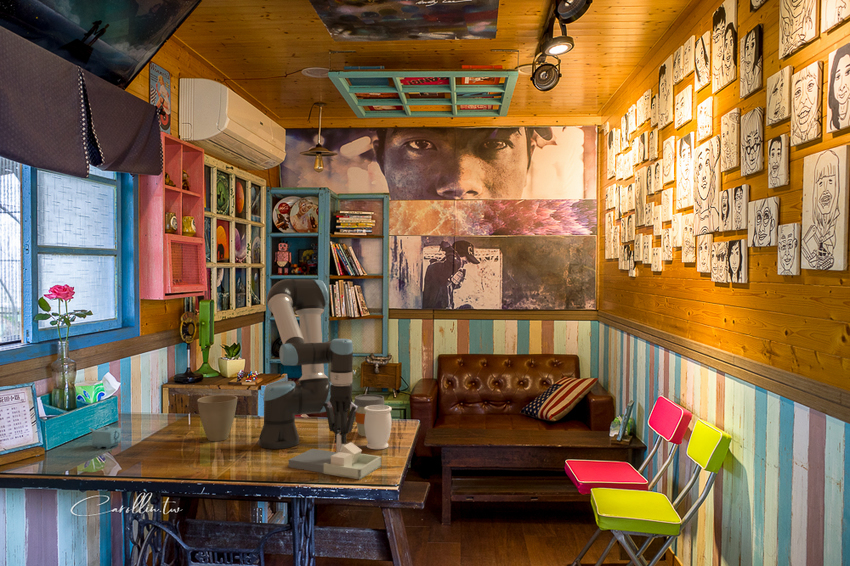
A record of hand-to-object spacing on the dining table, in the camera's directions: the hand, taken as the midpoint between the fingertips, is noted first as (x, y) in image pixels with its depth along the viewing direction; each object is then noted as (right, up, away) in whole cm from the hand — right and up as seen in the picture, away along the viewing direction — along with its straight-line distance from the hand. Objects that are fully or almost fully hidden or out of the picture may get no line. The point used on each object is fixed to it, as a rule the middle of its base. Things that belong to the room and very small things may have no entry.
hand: (340, 452), depth 195 cm
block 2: (+2, -2, -1) cm, 3 cm away
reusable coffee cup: (+6, -4, +40) cm, 41 cm away
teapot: (-91, -3, +17) cm, 93 cm away
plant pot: (-53, -4, +29) cm, 61 cm away
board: (-8, -4, 0) cm, 9 cm away
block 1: (+1, -4, -8) cm, 8 cm away
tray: (+5, -4, -5) cm, 8 cm away
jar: (+11, -4, +22) cm, 25 cm away
